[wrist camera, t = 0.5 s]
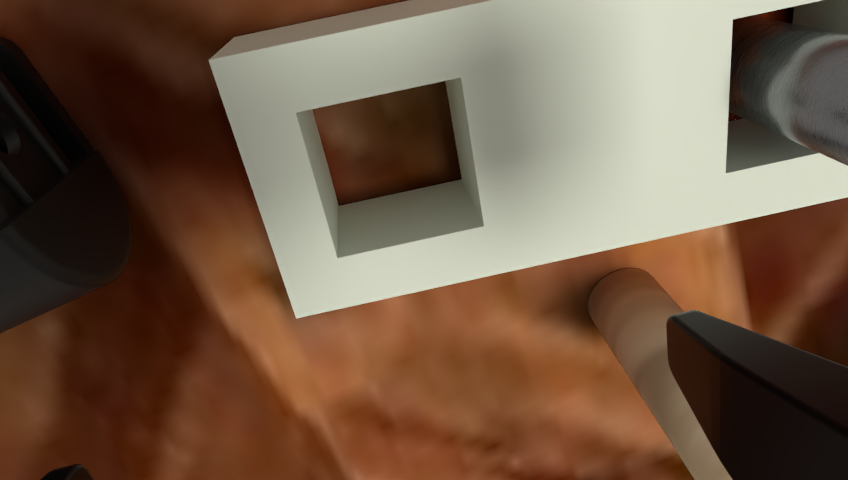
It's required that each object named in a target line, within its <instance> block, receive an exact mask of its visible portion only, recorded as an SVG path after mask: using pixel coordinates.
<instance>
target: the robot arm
mask: <svg viewBox="0 0 848 480" xmlns="http://www.w3.org/2000/svg"><path fill="white" fill-rule="evenodd" d="M666 332H667V353H668V363H669V367H670V370H671V373H672V375H673V377H674V379H675V380H676V382H677V384H678V386H679V388H680V390H681V391H682V393H683V395H684V397H685V399H686V401H687V402H688V404H689V406H690V408H691V410H692V411H693V413H694V415H695V417H696V419H697V421H698V422H699V424H700V426H701V428H702V430H703V432H704V433H705V435H706V437H707V439H708V441H709V443H710V444H711V446H712V448H713V450H714V451H715V453H716V455H717V457H718V458H719V460H720V462H721V463H722V465H723V466H724V468H725V469H726V471H727V472H728V474H729V475H730V477H731V478H732V479H733V480H848V367H846V366H843V365H841V364H838V363H835V362H833V361H830V360H827V359H825V358H822V357H819V356H817V355H814V354H811V353H809V352H806V351H803V350H801V349H798V348H795V347H793V346H790V345H787V344H785V343H782V342H780V341H777V340H774V339H772V338H769V337H766V336H764V335H761V334H758V333H756V332H753V331H750V330H748V329H745V328H742V327H740V326H737V325H734V324H732V323H729V322H726V321H724V320H721V319H718V318H716V317H713V316H710V315H708V314H705V313H703V312H700V311H696V310H690V311H686V312H682V313H678V314H674V315H671V316H670V317H669V318H668V319H667V323H666ZM41 480H94V479H93V477H92V476H91V474H90V473H89V471H88V470H87V468H86V467H84V466H83V465H81V464H74V465H70V466H66V467H62V468H58V469H55V470H52V471H50V472H49V473H48V474H46V475H45V476H44V477H43V478H42V479H41Z"/></svg>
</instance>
